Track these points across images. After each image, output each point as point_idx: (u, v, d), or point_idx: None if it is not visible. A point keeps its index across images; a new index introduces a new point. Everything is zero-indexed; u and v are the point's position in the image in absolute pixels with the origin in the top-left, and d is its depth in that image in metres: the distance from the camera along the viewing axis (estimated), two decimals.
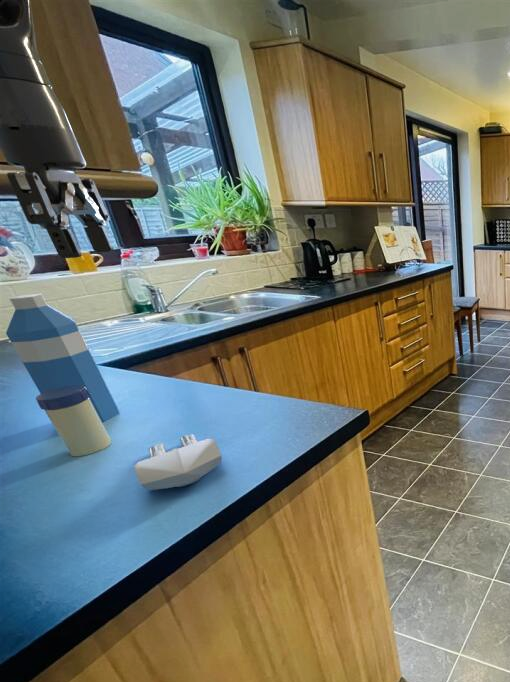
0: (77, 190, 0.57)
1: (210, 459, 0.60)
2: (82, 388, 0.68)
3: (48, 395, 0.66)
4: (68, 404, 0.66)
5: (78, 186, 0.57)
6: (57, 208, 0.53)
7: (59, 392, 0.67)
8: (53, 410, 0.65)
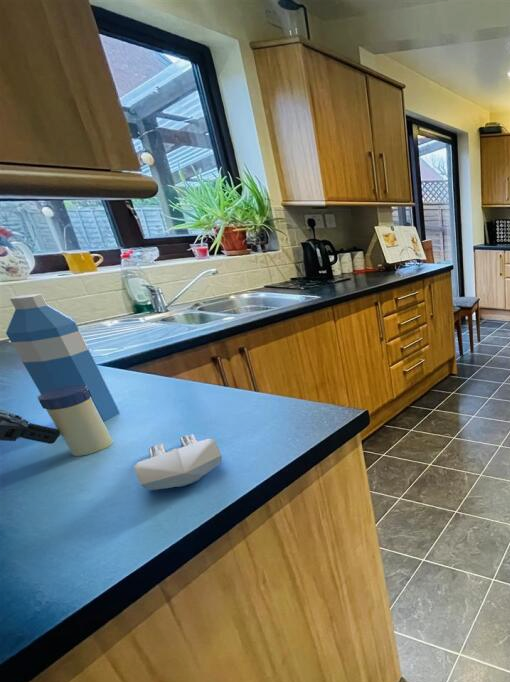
0: None
1: (210, 459, 0.60)
2: (84, 387, 0.68)
3: (50, 395, 0.66)
4: (70, 403, 0.66)
5: None
6: None
7: (61, 392, 0.67)
8: (55, 409, 0.65)
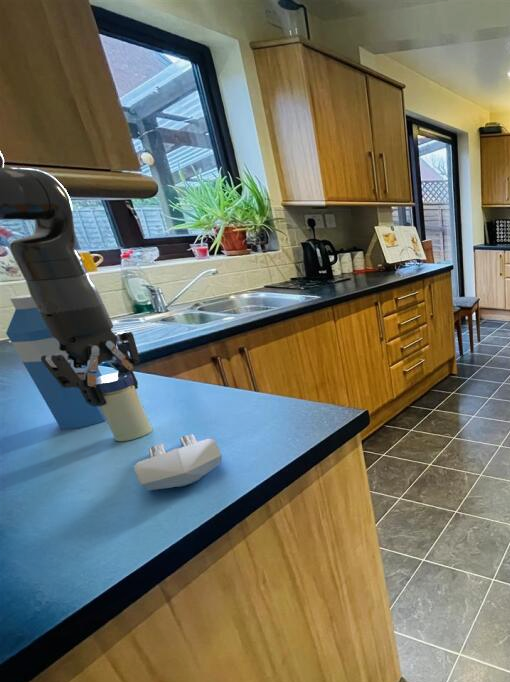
0: (105, 347, 0.69)
1: (210, 459, 0.60)
2: None
3: (118, 377, 0.71)
4: None
5: (105, 344, 0.69)
6: (85, 372, 0.67)
7: (109, 378, 0.71)
8: (105, 396, 0.69)
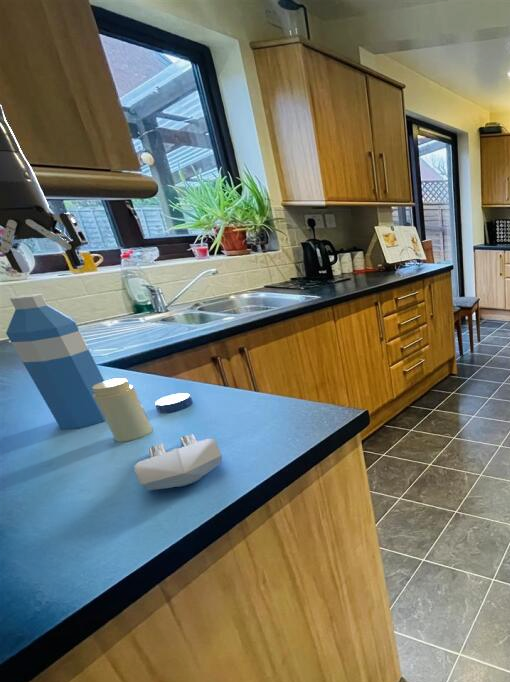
0: None
1: (210, 459, 0.60)
2: None
3: (172, 401, 0.84)
4: None
5: (26, 222, 0.75)
6: None
7: (172, 399, 0.85)
8: (104, 397, 0.69)
